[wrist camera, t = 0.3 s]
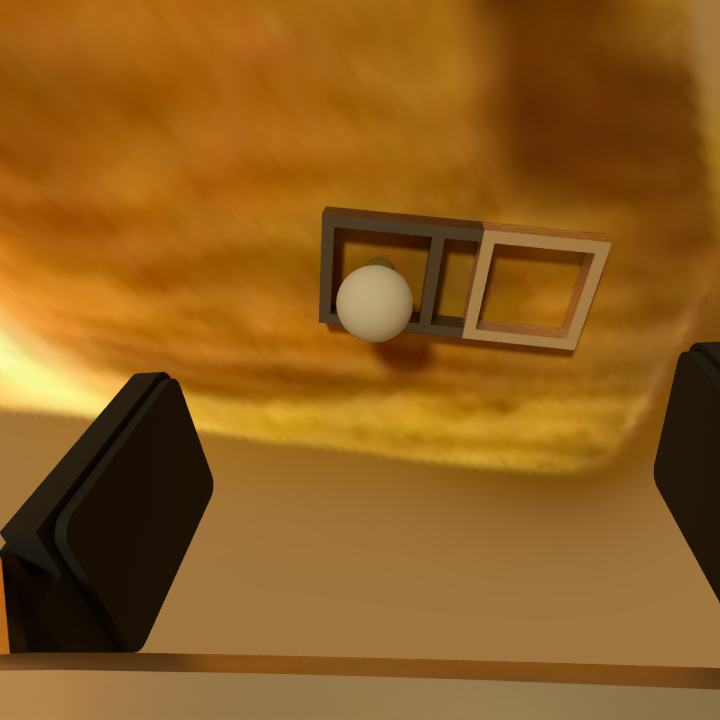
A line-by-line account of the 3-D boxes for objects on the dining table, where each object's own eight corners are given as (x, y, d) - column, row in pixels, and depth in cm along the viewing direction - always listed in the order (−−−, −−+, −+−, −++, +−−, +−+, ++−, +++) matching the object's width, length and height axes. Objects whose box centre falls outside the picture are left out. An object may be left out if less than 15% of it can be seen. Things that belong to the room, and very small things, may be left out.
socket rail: (326, 206, 43) (322, 213, 42) (604, 234, 42) (612, 242, 41) (322, 312, 49) (318, 322, 47) (569, 338, 48) (574, 350, 46)
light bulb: (377, 221, 44) (367, 268, 35) (427, 266, 45) (429, 321, 37) (333, 269, 46) (315, 323, 38) (382, 310, 48) (375, 370, 40)
